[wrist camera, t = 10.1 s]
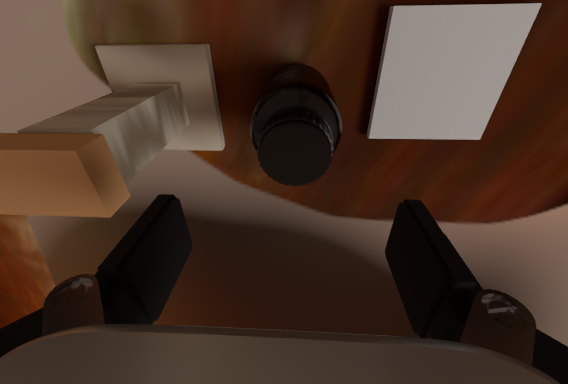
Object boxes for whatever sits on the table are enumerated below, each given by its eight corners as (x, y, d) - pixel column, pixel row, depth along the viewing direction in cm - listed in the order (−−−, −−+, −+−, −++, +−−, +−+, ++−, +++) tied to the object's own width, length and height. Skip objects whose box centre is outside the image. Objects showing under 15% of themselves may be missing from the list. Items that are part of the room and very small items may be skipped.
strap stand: (103, 44, 23) (-80, 71, 12) (209, 43, 23) (119, 70, 12) (139, 144, 29) (38, 225, 18) (225, 145, 29) (175, 229, 17)
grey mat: (390, 6, 21) (393, 5, 20) (532, 3, 20) (542, 3, 19) (366, 134, 27) (368, 138, 26) (474, 135, 26) (479, 139, 25)
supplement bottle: (261, 129, 27) (238, 193, 17) (263, 59, 23) (235, 90, 14) (324, 136, 27) (338, 203, 17) (337, 66, 23) (363, 102, 14)
